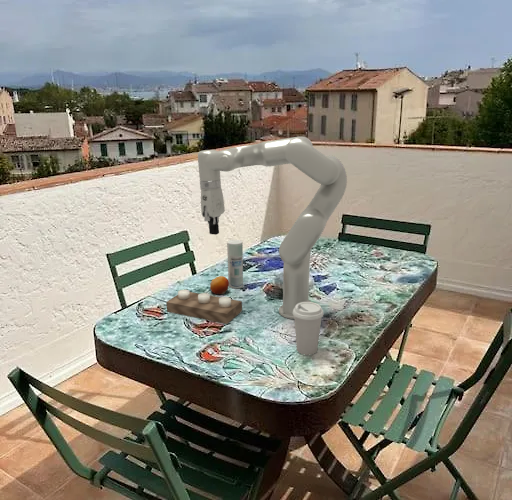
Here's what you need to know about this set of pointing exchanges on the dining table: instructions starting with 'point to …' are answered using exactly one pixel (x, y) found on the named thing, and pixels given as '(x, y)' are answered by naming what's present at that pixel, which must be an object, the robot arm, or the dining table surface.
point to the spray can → (235, 263)
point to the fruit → (219, 285)
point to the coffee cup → (307, 326)
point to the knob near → (224, 302)
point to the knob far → (183, 294)
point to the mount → (204, 308)
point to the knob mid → (204, 298)
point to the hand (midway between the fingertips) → (214, 233)
